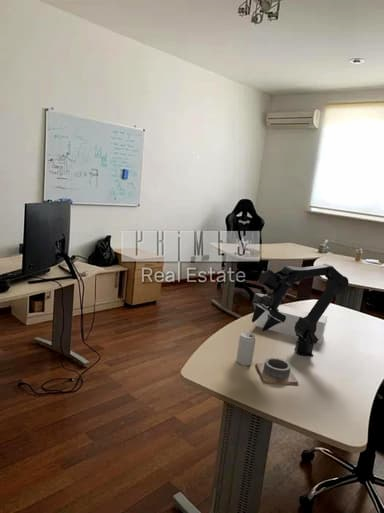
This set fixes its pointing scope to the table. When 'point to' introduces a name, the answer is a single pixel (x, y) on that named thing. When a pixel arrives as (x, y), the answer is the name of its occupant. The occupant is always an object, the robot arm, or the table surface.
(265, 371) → the can holder
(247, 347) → the beverage can
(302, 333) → the robot arm
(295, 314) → the white foam block
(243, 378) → the table surface
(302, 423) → the table surface
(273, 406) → the table surface
